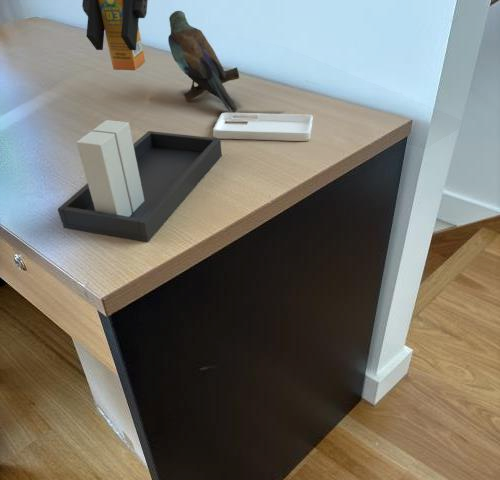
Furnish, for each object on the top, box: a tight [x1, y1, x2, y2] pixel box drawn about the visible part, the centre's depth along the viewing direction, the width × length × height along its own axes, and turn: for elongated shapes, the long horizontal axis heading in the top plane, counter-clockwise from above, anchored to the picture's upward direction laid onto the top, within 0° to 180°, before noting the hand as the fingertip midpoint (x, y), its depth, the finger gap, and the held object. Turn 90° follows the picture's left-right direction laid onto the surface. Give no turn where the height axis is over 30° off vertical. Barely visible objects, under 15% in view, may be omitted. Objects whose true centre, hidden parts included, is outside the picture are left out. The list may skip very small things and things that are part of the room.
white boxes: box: [76, 119, 144, 217], centre depth 60 cm, size 3×6×10 cm, turn 161°
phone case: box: [212, 112, 314, 142], centre depth 81 cm, size 7×1×15 cm
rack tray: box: [57, 130, 223, 243], centre depth 68 cm, size 12×24×3 cm, turn 161°
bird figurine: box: [167, 10, 240, 113], centre depth 89 cm, size 13×10×20 cm
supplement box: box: [98, 0, 146, 71], centre depth 60 cm, size 3×3×10 cm
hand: (111, 42), depth 59 cm, fingers closed on supplement box, 3 cm apart
